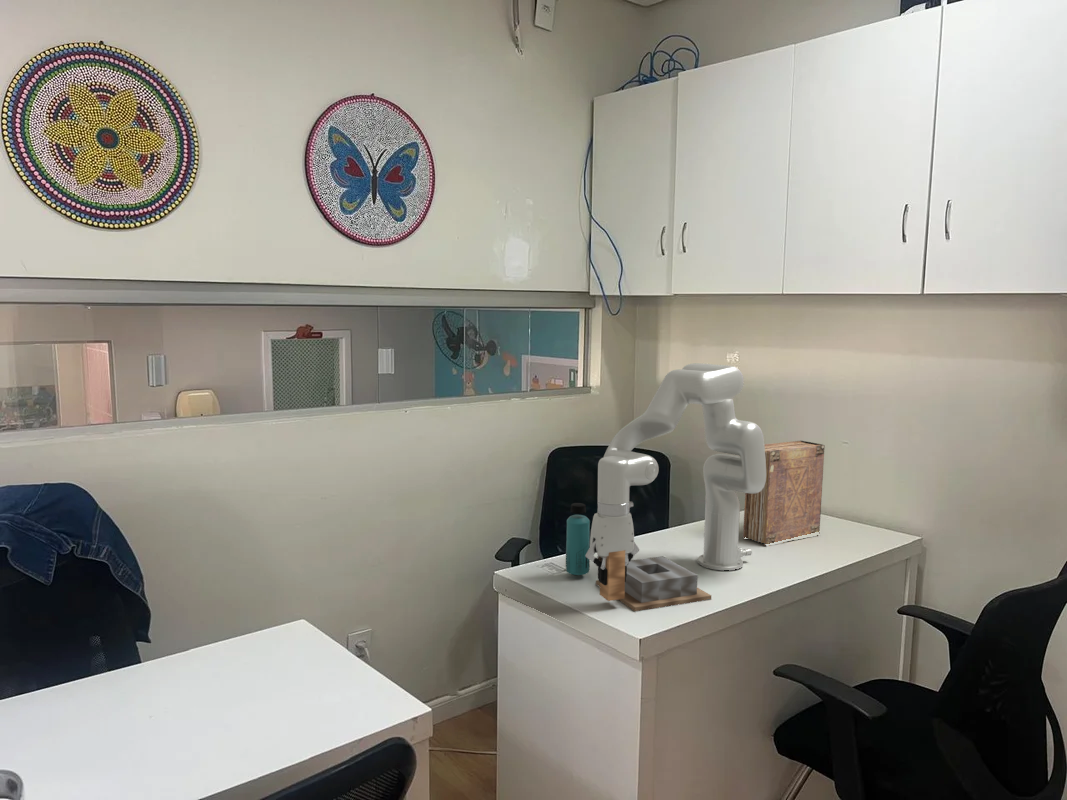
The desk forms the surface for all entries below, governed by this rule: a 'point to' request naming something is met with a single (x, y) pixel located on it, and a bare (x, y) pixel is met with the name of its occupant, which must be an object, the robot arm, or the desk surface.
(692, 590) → the socket board
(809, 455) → the book
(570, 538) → the beverage bottle
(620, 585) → the peg
